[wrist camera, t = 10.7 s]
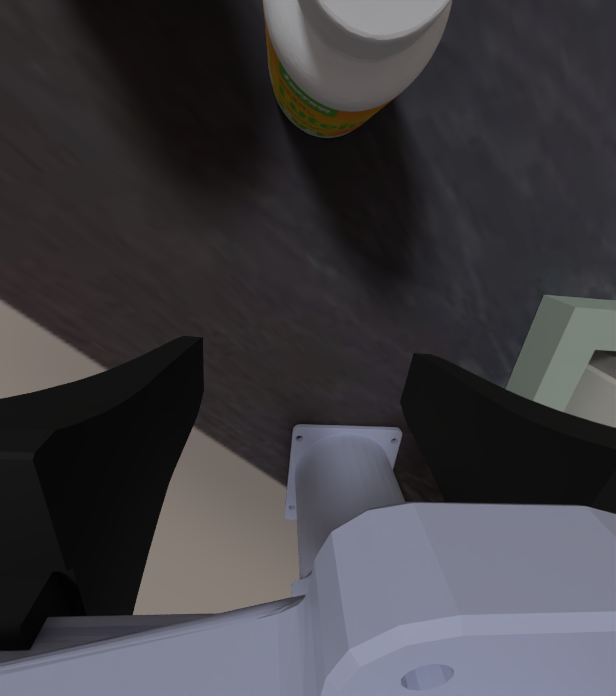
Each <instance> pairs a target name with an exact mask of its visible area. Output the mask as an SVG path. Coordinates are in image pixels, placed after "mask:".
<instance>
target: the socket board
mask: <svg viewBox="0 0 616 696" xmlns="http://www.w3.org/2000/svg"><path fill="white" fill-rule="evenodd" d="M595 350H606V351H616V301H614V300H602V299H590V298H577V297H565V296H553V295H544V296H543V298H542V300H541V303H540V305H539V308H538V310H537V313H536V315H535V318H534V320H533V323H532V325H531V328H530V330H529V332H528V335H527V337H526V340H525V342H524V345H523V347H522V350H521V352H520V355H519V357H518V360H517V362H516V364H515V367H514V369H513V372H512V374H511V377H510V379H509V382H508V384H507V387H506V390H508V391H511V392H513V393H515V394H517V395H520V396H522V397H524V398H527V399H529V400H532V401H535V402H537V403H540V404H542V405H545V406H548V407H550V408H553V409H556V410H559V411H562V412H564V410H565V408H566V406H567V404H568V402H569V400H570V398H571V396H572V394H573V392H574V390H575V388H576V386H577V384H578V382H579V380H580V378H581V376H582V375H583V373H584V371H585V369H586V367H587V365H588V363H589V361H590V359H591V357H592V355H593V353H594V351H595Z"/></svg>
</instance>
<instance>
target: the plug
mask: <svg viewBox="0 0 616 696" xmlns="http://www.w3.org/2000/svg"><path fill="white" fill-rule="evenodd" d="M564 412H565V413H568V414H571V415H574V416H577V417H580V418H584V419H587V420H590V421H593V422H597V423H600V424H604V425H607V426H611V427H615V428H616V351H606V350H595V351H594V353H593V355H592V357H591V359H590V361H589V363H588V365H587V367H586V369H585V371H584V373H583V375H582V376H581V378H580V380H579V382H578V384H577V386H576V388H575V390H574V392H573V394H572V396H571V398H570V400H569V402H568V404H567V406H566V408H565V410H564Z"/></svg>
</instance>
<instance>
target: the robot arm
mask: <svg viewBox="0 0 616 696" xmlns="http://www.w3.org/2000/svg"><path fill="white" fill-rule="evenodd" d="M203 392H204V374H203V337H190V336H182V337H179V338H177V339H175V340H172V341H170V342H168V343H166V344H164V345H162V346H160V347H158V348H156V349H154V350H152V351H150V352H148V353H146V354H144V355H142V356H140V357H138V358H136V359H133V360H131V361H129V362H127V363H124V364H122V365H120V366H118V367H115V368H113V369H110V370H107V371H105V372H102V373H99V374H96V375H93V376H90V377H87V378H84V379H81V380H78V381H75V382H71V383H67V384H64V385H59V386H56V387H52V388H48V389H44V390H40V391H36V392H32V393H27V394H22V395H18V396H13V397H8V398H3V399H0V696H616V428H615V427H611V426H607V425H604V424H600V423H597V422H593V421H590V420H587V419H584V418H580V417H577V416H574V415H571V414H568V413H565V412H562V411H559V410H556V409H553V408H550V407H548V406H545V405H542V404H540V403H537V402H535V401H532V400H529V399H527V398H524V397H522V396H520V395H517V394H515V393H513V392H511V391H508V390H506V389H504V388H502V387H500V386H497V385H495V384H493V383H491V382H489V381H487V380H485V379H483V378H481V377H479V376H477V375H475V374H473V373H471V372H469V371H467V370H465V369H463V368H461V367H459V366H457V365H455V364H453V363H451V362H449V361H446V360H444V359H442V358H440V357H437V356H434V355H431V354H418V353H414V354H413V358H412V362H411V365H410V369H409V372H408V376H407V379H406V383H405V387H404V390H403V394H402V397H401V401H400V403H401V406H402V410H403V413H404V416H405V419H406V422H407V424H408V427H409V429H410V431H411V433H412V435H413V437H414V439H415V441H416V443H417V445H418V447H419V449H420V451H421V452H422V454H423V456H424V458H425V460H426V462H427V464H428V466H429V468H430V470H431V472H432V474H433V476H434V477H435V479H436V482H437V484H438V486H439V488H440V490H441V493H442V495H443V498H444V500H445V502H405V500H404V497H403V495H402V492H401V490H400V487H399V485H398V482H397V480H396V478H395V475H394V473H393V467H394V464H395V460H396V456H397V453H398V449H399V445H400V442H401V438H402V432H401V430H400V429H399V428H396V427H369V426H338V425H307V424H299V425H296V426H295V427H294V428H293V433H292V444H291V454H290V464H289V474H288V484H287V495H286V505H285V518H286V519H287V520H297V532H298V533H297V534H298V554H299V575H300V580H298V581H295V582H293V583H292V584H291V585H292V586H291V587H292V597H291V598H286V599H282V600H277V601H273V602H269V603H264V604H259V605H255V606H250V607H246V608H241V609H237V610H232V611H228V612H224V613H219V614H174V615H173V614H172V615H133V611H134V607H135V603H136V599H137V595H138V591H139V587H140V584H141V579H142V576H143V572H144V568H145V565H146V560H147V557H148V553H149V550H150V546H151V542H152V539H153V536H154V532H155V529H156V525H157V521H158V518H159V515H160V511H161V508H162V505H163V501H164V498H165V495H166V492H167V488H168V485H169V482H170V480H171V477H172V474H173V472H174V469H175V467H176V465H177V462H178V460H179V458H180V455H181V453H182V450H183V448H184V446H185V444H186V441H187V439H188V437H189V434H190V432H191V430H192V427H193V425H194V423H195V420H196V418H197V415H198V411H199V408H200V404H201V400H202V396H203ZM297 436H302V437H301V438H297ZM392 439H395V440H392Z"/></svg>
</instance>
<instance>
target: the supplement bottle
mask: <svg viewBox="0 0 616 696" xmlns="http://www.w3.org/2000/svg"><path fill="white" fill-rule="evenodd" d="M451 4H452V0H263V7H264V18H265V30H266V41H267V54H268V66H269V75H270V80H271V84H272V88H273V91H274V94H275V97H276V99H277V102H278V104H279V105H280V107H281V109H282V111H283V112H284V113H285V115H286V116H287V117H288V119H289V120H290V121H291V122H292V123H293V124H294V125H296V126H297V127H298V128H300V129H301V130H303V131H304V132H306V133H308V134H311V135H313V136H317V137H322V138H333V137H338V136H342V135H345V134H347V133H349V132H351V131H353V130H355V129H356V128H358V127H359V126H361V125H362V124H363V123H364V122H366V121H367V120H368V119H369V118H371V117H372V116H373V115H374V114H375V113H377V112H378V111H379V110H381V109H382V108H383V107H384V106H385V105H387V104H388V103H389V102H390V101H392V100H393V99H394V98H395V97H397V96H398V95H399V94H400V93H401V92H402V91H403V90H405V89H406V88H407V87H408V86H409V85H410V84H411V83H412V82H413V81H414V80H415V79H416V78H417V76H418V75H419V74H420V73H421V71H422V70H423V69H424V67H425V66H426V64H427V63H428V62H429V60H430V58H431V57H432V55H433V53H434V51H435V49H436V47H437V45H438V43H439V41H440V39H441V37H442V34H443V32H444V29H445V26H446V23H447V20H448V17H449V13H450V9H451Z"/></svg>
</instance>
